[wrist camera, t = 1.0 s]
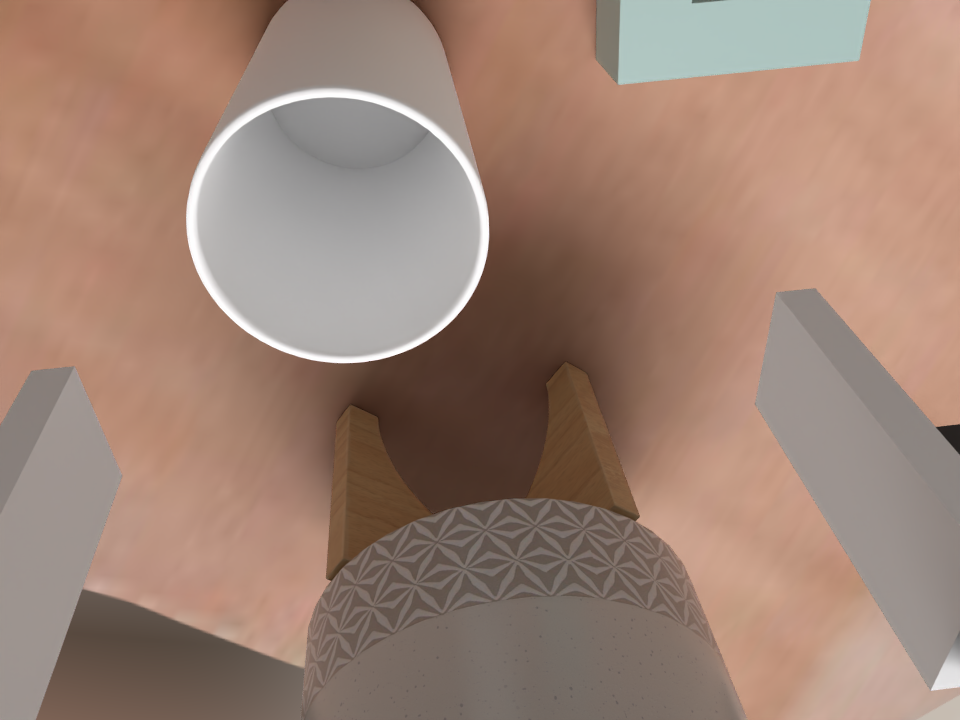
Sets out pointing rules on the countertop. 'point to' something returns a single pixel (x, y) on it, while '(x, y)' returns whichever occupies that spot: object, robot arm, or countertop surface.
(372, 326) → the cup
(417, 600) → the planter
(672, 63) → the bead
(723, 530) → the countertop surface
